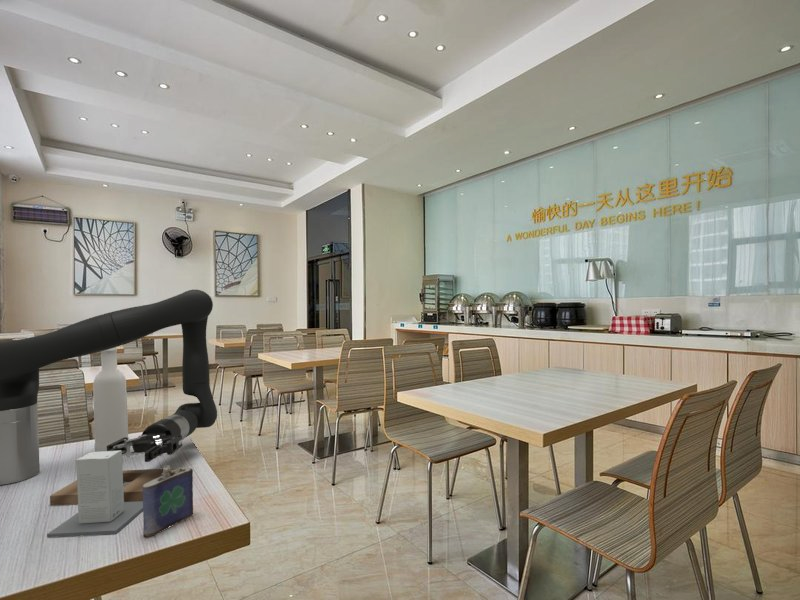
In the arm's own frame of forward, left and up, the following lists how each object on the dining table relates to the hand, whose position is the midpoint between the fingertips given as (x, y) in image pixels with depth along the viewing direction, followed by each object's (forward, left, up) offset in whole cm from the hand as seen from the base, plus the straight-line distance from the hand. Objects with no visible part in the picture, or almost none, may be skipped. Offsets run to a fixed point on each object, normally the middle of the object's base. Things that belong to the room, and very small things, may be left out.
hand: (125, 458), depth 88 cm
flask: (+14, -11, -9) cm, 20 cm away
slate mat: (0, -8, -9) cm, 12 cm away
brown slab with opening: (-5, +5, -9) cm, 11 cm away
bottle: (-23, +31, -9) cm, 40 cm away
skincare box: (0, -8, -8) cm, 12 cm away
